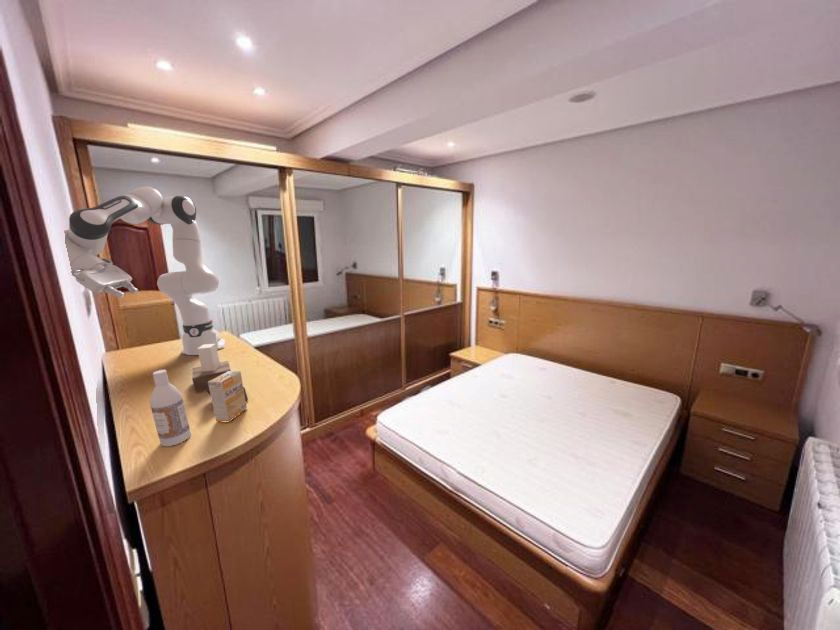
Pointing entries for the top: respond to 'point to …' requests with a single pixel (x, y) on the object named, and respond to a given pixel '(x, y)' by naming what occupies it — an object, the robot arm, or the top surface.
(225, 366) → the walnut block
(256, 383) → the top surface
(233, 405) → the supplement box
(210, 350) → the cream block
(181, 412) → the bath foam
